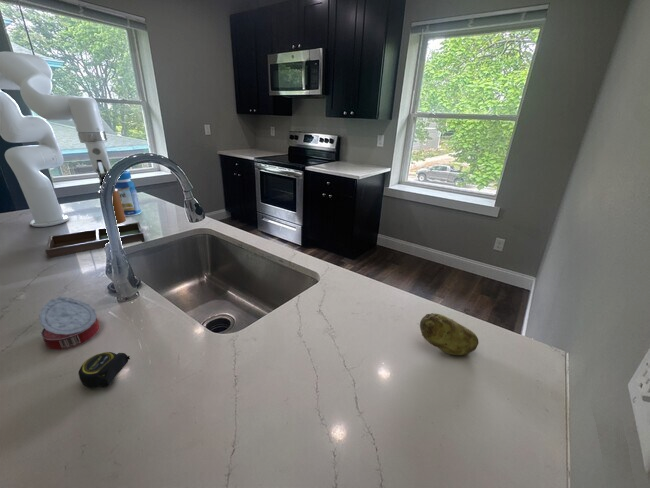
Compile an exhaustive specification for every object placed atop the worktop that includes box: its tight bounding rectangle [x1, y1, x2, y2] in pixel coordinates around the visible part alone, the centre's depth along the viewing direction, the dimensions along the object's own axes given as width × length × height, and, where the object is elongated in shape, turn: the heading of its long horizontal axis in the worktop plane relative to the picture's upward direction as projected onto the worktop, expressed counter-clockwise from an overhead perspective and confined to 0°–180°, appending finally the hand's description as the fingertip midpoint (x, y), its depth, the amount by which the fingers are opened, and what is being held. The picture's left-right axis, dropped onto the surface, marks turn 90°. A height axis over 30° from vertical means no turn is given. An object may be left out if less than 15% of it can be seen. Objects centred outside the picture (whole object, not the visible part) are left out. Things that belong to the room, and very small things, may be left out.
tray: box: [45, 221, 146, 259], centre depth 112 cm, size 14×28×4 cm, turn 126°
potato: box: [419, 312, 479, 356], centre depth 68 cm, size 8×13×8 cm, turn 63°
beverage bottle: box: [115, 170, 142, 217], centre depth 138 cm, size 8×8×20 cm
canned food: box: [38, 296, 101, 351], centre depth 68 cm, size 11×10×10 cm
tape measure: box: [77, 351, 131, 389], centre depth 58 cm, size 7×7×4 cm
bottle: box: [97, 175, 127, 225], centre depth 109 cm, size 6×6×18 cm
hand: (107, 190), depth 108 cm, fingers closed on bottle, 4 cm apart
